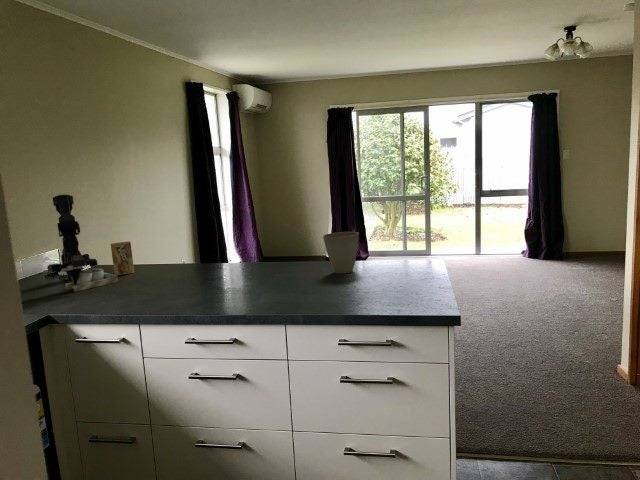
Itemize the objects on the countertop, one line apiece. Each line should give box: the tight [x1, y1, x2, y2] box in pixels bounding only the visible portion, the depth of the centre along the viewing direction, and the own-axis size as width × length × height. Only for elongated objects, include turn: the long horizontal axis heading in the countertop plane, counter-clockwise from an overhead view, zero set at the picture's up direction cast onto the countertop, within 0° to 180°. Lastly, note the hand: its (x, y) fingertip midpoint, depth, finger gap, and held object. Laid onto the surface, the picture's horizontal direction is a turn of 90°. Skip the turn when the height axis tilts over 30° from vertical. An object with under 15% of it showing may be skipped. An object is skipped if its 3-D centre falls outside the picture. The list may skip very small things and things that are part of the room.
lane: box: [65, 273, 119, 292], centre depth 228 cm, size 19×9×3 cm, turn 138°
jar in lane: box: [90, 268, 105, 282], centre depth 230 cm, size 5×5×7 cm
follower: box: [104, 272, 111, 279], centre depth 232 cm, size 1×6×4 cm, turn 48°
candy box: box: [110, 240, 135, 276], centre depth 249 cm, size 9×4×15 cm, turn 116°
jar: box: [77, 269, 92, 285], centre depth 225 cm, size 5×5×7 cm
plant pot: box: [322, 231, 360, 275], centre depth 217 cm, size 15×15×16 cm
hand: (75, 285), depth 222 cm, fingers closed
